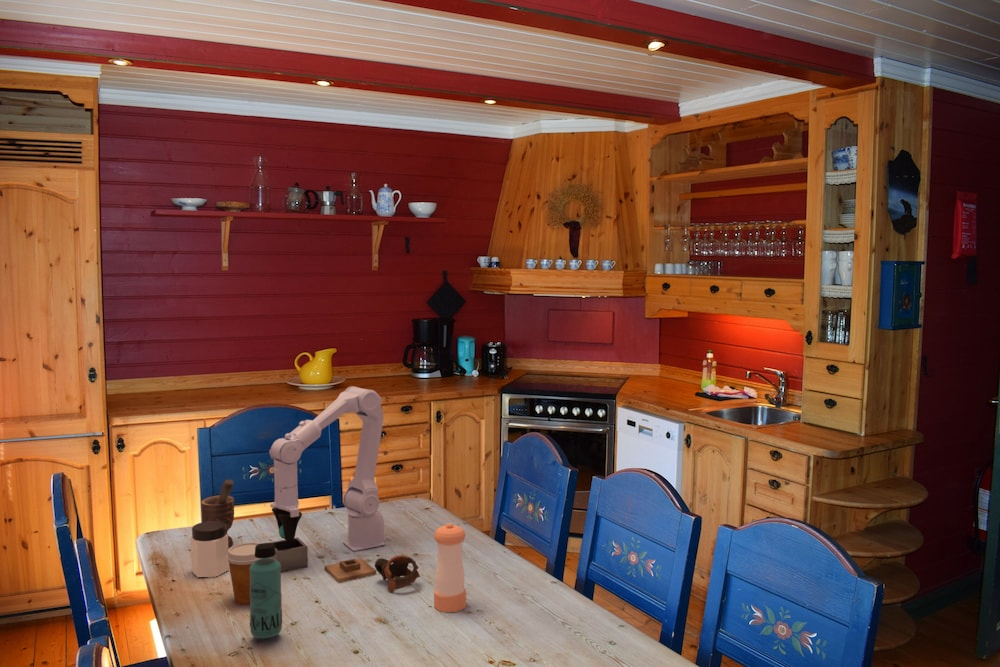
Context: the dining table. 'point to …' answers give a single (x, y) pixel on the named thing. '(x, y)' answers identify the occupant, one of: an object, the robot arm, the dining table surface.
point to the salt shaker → (449, 569)
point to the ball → (281, 532)
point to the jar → (209, 549)
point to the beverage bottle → (265, 593)
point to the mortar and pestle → (220, 508)
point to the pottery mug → (397, 571)
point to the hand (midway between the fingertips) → (287, 537)
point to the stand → (349, 570)
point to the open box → (291, 554)
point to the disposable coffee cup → (241, 570)
